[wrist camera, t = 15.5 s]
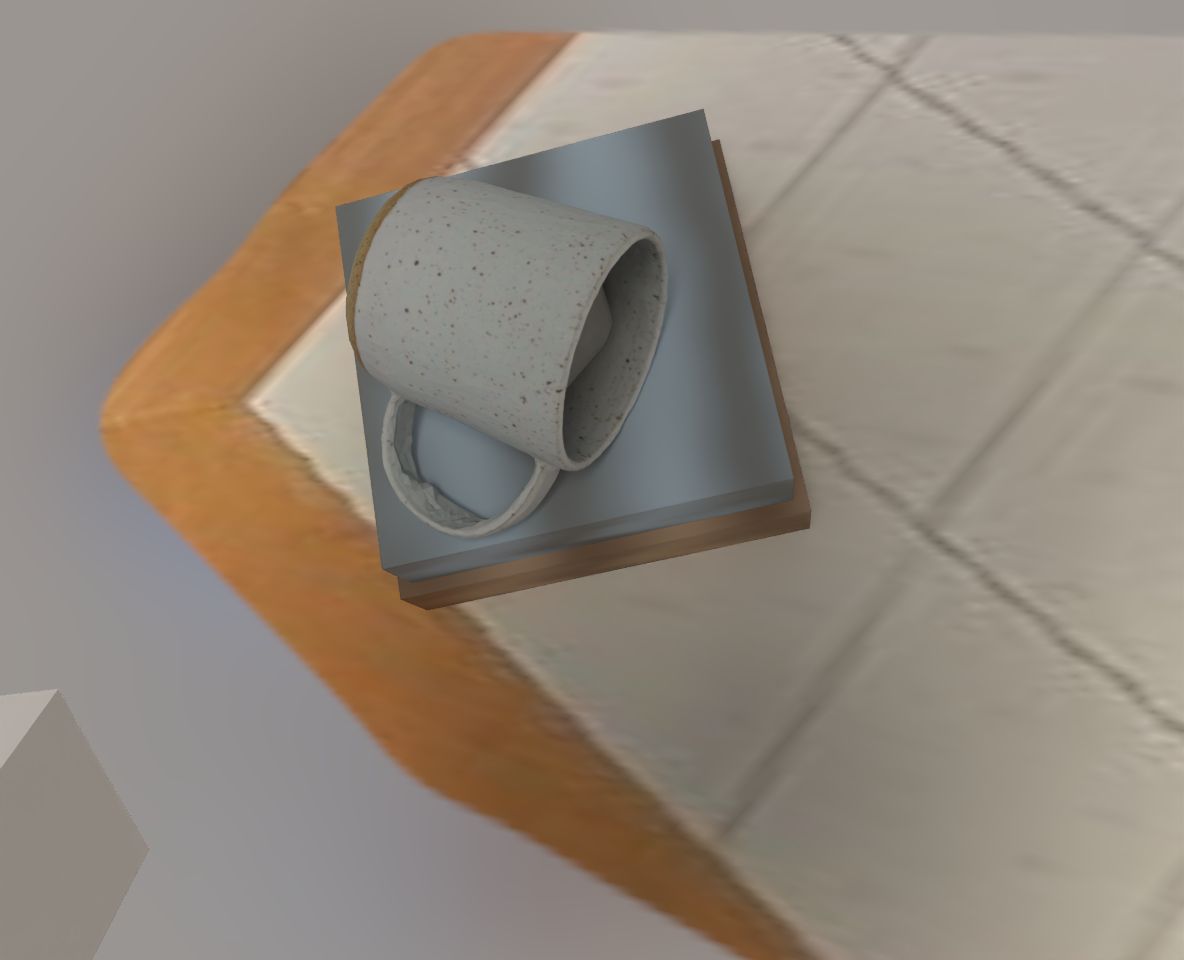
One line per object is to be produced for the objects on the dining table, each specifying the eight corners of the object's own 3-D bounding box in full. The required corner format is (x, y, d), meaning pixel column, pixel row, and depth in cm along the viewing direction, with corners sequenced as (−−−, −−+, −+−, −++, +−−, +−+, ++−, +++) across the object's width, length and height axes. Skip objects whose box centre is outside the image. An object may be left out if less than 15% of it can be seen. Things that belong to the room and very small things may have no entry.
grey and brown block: (723, 179, 44) (714, 93, 38) (809, 528, 40) (812, 489, 34) (379, 267, 46) (321, 198, 40) (427, 610, 42) (369, 586, 36)
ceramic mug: (473, 227, 39) (397, 107, 31) (683, 295, 37) (655, 184, 29) (350, 496, 37) (240, 436, 30) (562, 583, 35) (499, 541, 28)
